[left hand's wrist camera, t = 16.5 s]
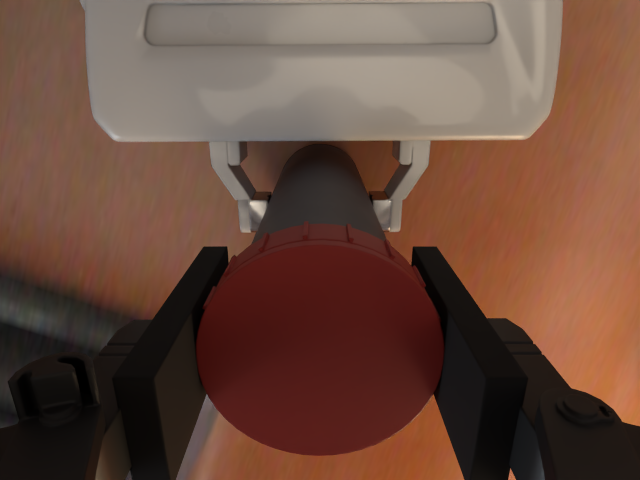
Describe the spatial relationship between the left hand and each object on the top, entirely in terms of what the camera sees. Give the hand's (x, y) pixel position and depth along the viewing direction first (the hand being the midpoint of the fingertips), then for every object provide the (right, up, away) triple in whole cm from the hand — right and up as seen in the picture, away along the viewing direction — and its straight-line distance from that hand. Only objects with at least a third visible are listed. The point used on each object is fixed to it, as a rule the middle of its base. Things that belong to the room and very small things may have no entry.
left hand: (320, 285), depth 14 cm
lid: (0, -1, -4) cm, 4 cm away
